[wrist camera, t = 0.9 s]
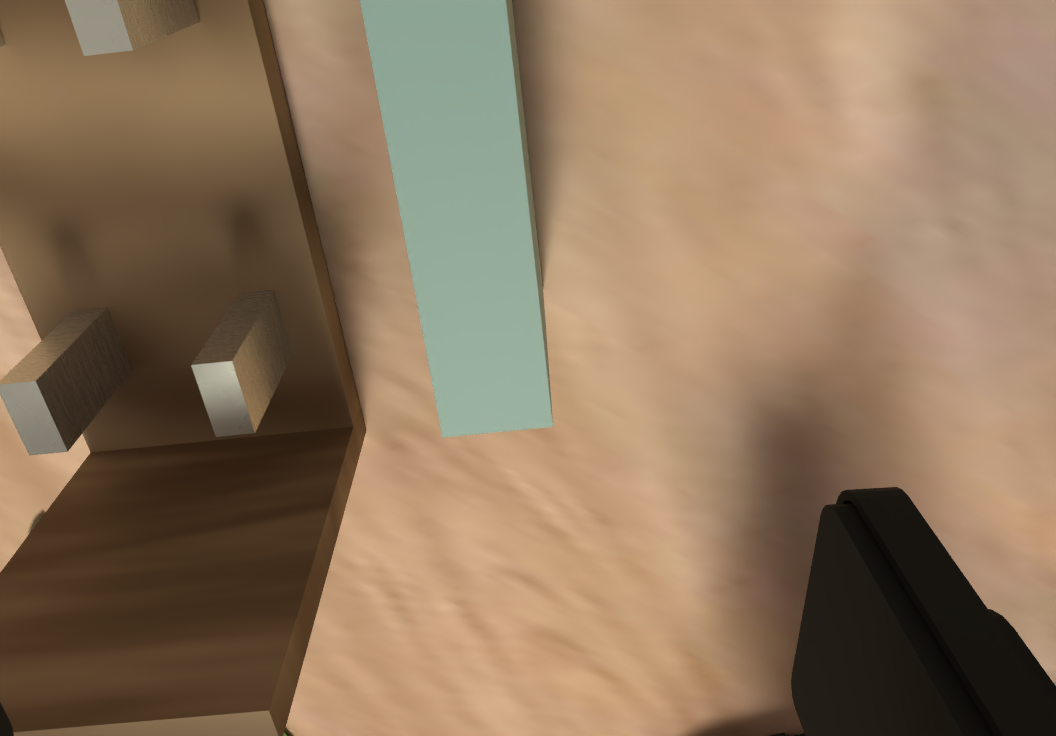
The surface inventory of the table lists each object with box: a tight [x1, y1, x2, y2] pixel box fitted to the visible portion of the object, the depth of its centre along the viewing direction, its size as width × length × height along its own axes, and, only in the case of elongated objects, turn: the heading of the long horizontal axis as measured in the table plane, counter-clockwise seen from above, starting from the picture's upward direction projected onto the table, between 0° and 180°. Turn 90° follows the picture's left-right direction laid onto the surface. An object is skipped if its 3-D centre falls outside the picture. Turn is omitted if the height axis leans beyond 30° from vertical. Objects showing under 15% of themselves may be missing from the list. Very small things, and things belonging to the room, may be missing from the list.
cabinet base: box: [0, 0, 366, 736], centre depth 22 cm, size 21×10×14 cm, turn 6°
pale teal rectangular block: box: [360, 0, 553, 438], centre depth 23 cm, size 14×3×9 cm, turn 6°
